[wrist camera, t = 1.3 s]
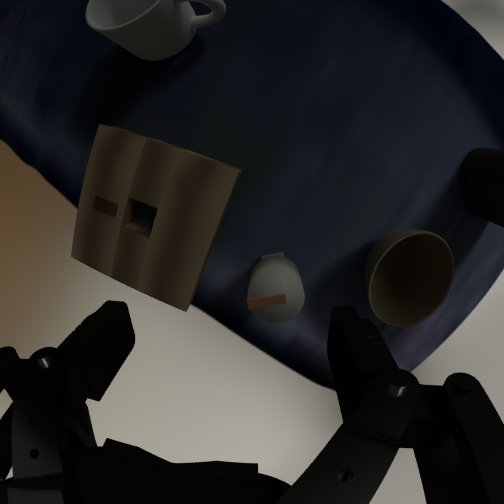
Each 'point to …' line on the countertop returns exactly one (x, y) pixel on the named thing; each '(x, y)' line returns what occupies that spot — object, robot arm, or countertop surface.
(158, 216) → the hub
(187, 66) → the countertop surface
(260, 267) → the knob
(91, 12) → the mug
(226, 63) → the countertop surface
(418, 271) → the yellowish brown bowl
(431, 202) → the countertop surface
